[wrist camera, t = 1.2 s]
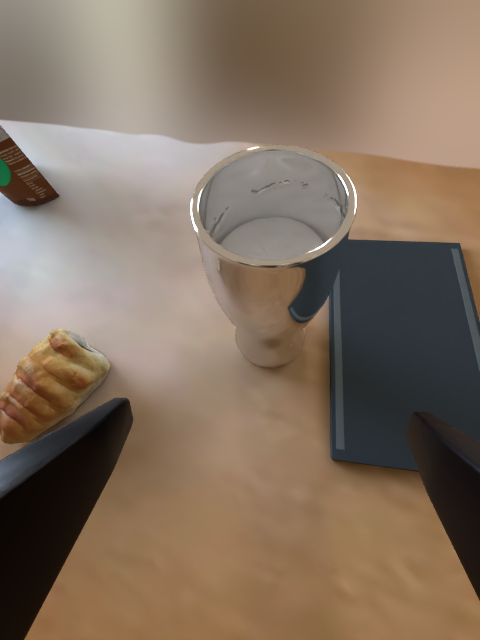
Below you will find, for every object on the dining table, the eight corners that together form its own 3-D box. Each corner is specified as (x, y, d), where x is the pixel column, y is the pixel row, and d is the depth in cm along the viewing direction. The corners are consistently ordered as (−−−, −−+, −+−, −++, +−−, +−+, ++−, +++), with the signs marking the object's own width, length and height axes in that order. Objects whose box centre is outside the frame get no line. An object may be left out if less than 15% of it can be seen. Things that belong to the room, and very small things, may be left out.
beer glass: (223, 366, 24) (164, 262, 10) (237, 296, 26) (205, 139, 13) (305, 379, 23) (364, 280, 9) (311, 304, 25) (363, 142, 12)
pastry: (42, 463, 22) (-1, 466, 18) (-6, 414, 24) (-52, 409, 20) (121, 364, 25) (97, 351, 21) (73, 329, 27) (43, 312, 23)
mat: (514, 484, 18) (521, 485, 18) (330, 459, 20) (332, 459, 20) (456, 246, 26) (460, 242, 26) (328, 242, 28) (329, 238, 27)
